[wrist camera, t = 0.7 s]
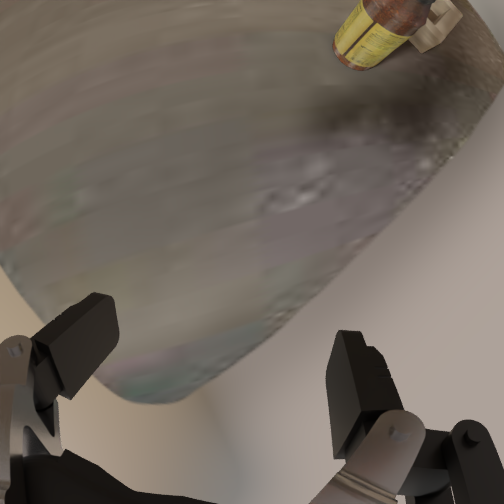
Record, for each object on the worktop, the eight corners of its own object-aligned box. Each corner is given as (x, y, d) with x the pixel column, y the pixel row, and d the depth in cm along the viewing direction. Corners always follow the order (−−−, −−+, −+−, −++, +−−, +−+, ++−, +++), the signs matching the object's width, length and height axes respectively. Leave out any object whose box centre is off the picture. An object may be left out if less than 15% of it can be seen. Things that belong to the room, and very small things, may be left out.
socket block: (351, -10, 24) (364, -28, 19) (388, -30, 23) (401, -44, 18) (421, 53, 27) (441, 42, 22) (446, 24, 26) (463, 15, 21)
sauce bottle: (381, 61, 27) (483, -1, 8) (353, 80, 28) (462, 7, 8) (348, 26, 26) (430, -57, 6) (318, 42, 26) (396, -57, 7)
